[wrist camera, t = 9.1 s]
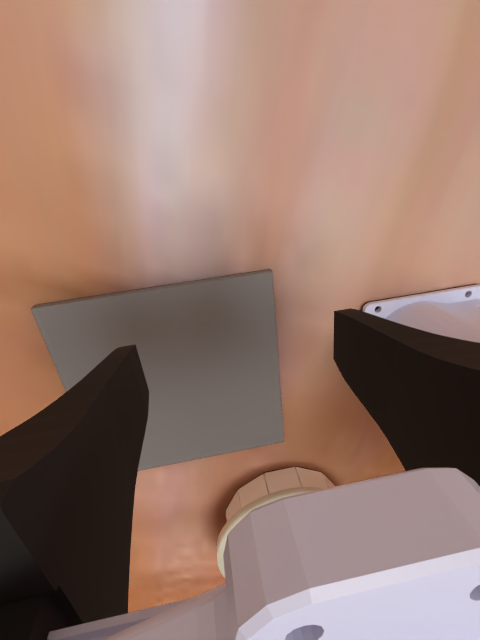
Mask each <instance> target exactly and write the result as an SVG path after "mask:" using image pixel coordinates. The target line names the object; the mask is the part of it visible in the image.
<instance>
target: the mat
mask: <svg viewBox="0 0 480 640" xmlns="http://www.w3.org/2000/svg"><path fill="white" fill-rule="evenodd" d="M31 311H32V313H33V316H34V318H35V320H36V323H37V325H38V327H39V330H40V332H41V334H42V337H43V339H44V341H45V344H46V346H47V348H48V351H49V353H50V355H51V358H52V360H53V362H54V365H55V367H56V369H57V372H58V374H59V376H60V379H61V381H62V383H63V386H64V388H65V390H66V392H67V391H68V390H69V389H71V388H72V387H73V386H74V385H75V384H77V383H78V382H79V381H80V380H81V379H83V378H84V377H85V376H86V375H87V374H88V373H89V372H90V371H92V370H93V369H94V368H95V367H96V366H97V365H98V364H99V363H100V362H101V361H102V360H104V359H105V358H106V357H107V356H108V355H109V354H110V353H111V352H112V351H114V350H115V349H116V348H118V347H123V346H129V345H135V344H136V347H137V351H138V354H139V358H140V361H141V365H142V368H143V372H144V375H145V379H146V382H147V385H148V389H149V410H148V420H147V425H146V430H145V436H144V441H143V446H142V451H141V456H140V461H139V466H138V471H140V470H145V469H150V468H155V467H160V466H165V465H170V464H175V463H180V462H186V461H191V460H196V459H201V458H206V457H211V456H216V455H221V454H226V453H231V452H236V451H241V450H246V449H251V448H256V447H261V446H266V445H271V444H276V443H281V442H284V432H283V418H282V403H281V389H280V375H279V360H278V346H277V331H276V317H275V303H274V288H273V274H272V271H271V269H267V270H261V271H254V272H248V273H241V274H235V275H228V276H221V277H215V278H208V279H202V280H195V281H189V282H182V283H176V284H169V285H163V286H156V287H150V288H143V289H136V290H130V291H123V292H117V293H110V294H104V295H97V296H91V297H84V298H78V299H71V300H64V301H58V302H51V303H45V304H38V305H34V306H33V307H32V308H31Z"/></svg>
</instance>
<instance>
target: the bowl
mask: <svg viewBox="0 0 480 640" xmlns="http://www.w3.org/2000/svg"><path fill="white" fill-rule="evenodd" d="M297 487H319V488H330V487H335V485H334V484H333V483H332V482H331V481H330V480H329V479H328V478H327V477H326V476H325V475H324V474H323V473H321V472H318V471H313V470H309V469H304V468H299V467H295V468H294V467H291V468H286V469H282V470H277V471H272V472H267V473H264V474H262V475H260V476H258V477H257V478H255V479H254V480H252V481H251V482H249V483H248V484H246V485H244V486H243V487H241V488H240V489H238V490H239V491H238V490H237V492H236V494H235V495H234V497H233V499H232V501H231V502H230V504H229V506H228V507H227V509H226V519H227V521H228V520H229V519H230V518H231V517H232V516H233V515H234V514H235V513H236V512H237V511H239V510H240V509H241V508H243V507H244V506H246V505H247V504H249V503H250V502H252V501H254V500H256V499H258V498H260V497H263V496H265V495H268V494H270V493H273V492H277V491H280V490H285V489H289V488H297Z"/></svg>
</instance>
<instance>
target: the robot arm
mask: <svg viewBox="0 0 480 640" xmlns="http://www.w3.org/2000/svg"><path fill="white" fill-rule="evenodd" d="M467 291H468V292H467ZM466 292H467V294H466ZM465 294H466V295H465ZM377 306H379V307H378V309H377V310H375V308H376V307H377ZM334 360H335V362H336V364H337V366H338V368H339V370H340V372H341V374H342V376H343V378H344V379H345V381H346V382H347V384H348V385H349V386H350V388H351V389H352V391H353V392H354V393H355V395H356V396H357V397H358V399H359V400H360V401H361V403H362V404H363V405H364V407H365V408H366V409H367V411H368V412H369V413H370V415H371V416H372V417H373V419H374V420H375V421H376V423H377V424H378V425H379V427H380V428H381V430H382V431H383V433H384V434H385V436H386V437H387V439H388V441H389V442H390V444H391V446H392V447H393V449H394V451H395V453H396V454H397V456H398V458H399V459H400V461H401V463H402V465H403V466H404V468H405V470H406V471H405V472H400V473H395V474H391V475H386V476H381V477H377V478H372V479H367V480H363V481H358V482H353V483H349V484H344V485H339V486H335V487H330V488H325V489H321V490H316V491H311V492H307V493H302V494H297V495H293V496H288V497H283V498H280V499H278V500H275V501H273V502H270V503H268V504H265V505H263V506H260V507H258V508H255V509H253V510H251V511H250V512H249V513H248V514H247V515H246V516H245V517H244V518H243V519H242V520H241V521H240V522H239V523H238V524H237V525H236V526H235V527H234V528H233V529H232V530H231V531H230V532H229V533H228V535H227V540H226V545H225V550H224V554H223V559H224V570H225V580H226V583H224V584H222V585H220V586H218V587H216V588H213V589H211V590H209V591H207V592H205V593H202V594H200V595H198V596H196V597H194V598H190V599H186V600H182V601H178V602H173V603H169V604H165V605H161V606H156V607H152V608H148V609H144V610H139V611H135V612H131V613H128V588H129V566H130V547H131V531H132V517H133V505H134V493H135V484H136V477H137V471H138V466H139V461H140V456H141V451H142V446H143V441H144V436H145V430H146V425H147V420H148V410H149V389H148V385H147V382H146V379H145V375H144V372H143V368H142V365H141V361H140V358H139V354H138V351H137V347H136V344H135V345H129V346H123V347H118V348H116V349H115V350H114V351H112V352H111V353H110V354H109V355H108V356H107V357H106V358H105V359H104V360H102V361H101V362H100V363H99V364H98V365H97V366H96V367H95V368H94V369H93V370H92V371H90V372H89V373H88V374H87V375H86V376H85V377H84V378H83V379H81V380H80V381H79V382H78V383H77V384H75V385H74V386H73V387H72V388H71V389H69V390H68V391H67V392H66V393H65V394H63V395H62V396H61V397H60V398H58V399H57V400H56V401H54V402H53V403H52V404H50V405H49V406H48V407H46V408H45V409H43V410H42V411H40V412H39V413H37V414H36V415H35V416H33V417H32V418H30V419H28V420H27V421H25V422H24V423H22V424H20V425H19V426H17V427H15V428H14V429H12V430H10V431H9V432H7V433H5V434H4V435H2V436H0V640H480V284H477V285H471V286H465V287H459V288H453V289H447V290H441V291H435V292H429V293H423V294H417V295H411V296H405V297H398V298H392V299H386V300H380V301H374V302H369V303H367V304H365V305H364V307H363V310H362V311H359V310H355V309H345V310H339V311H334Z"/></svg>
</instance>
